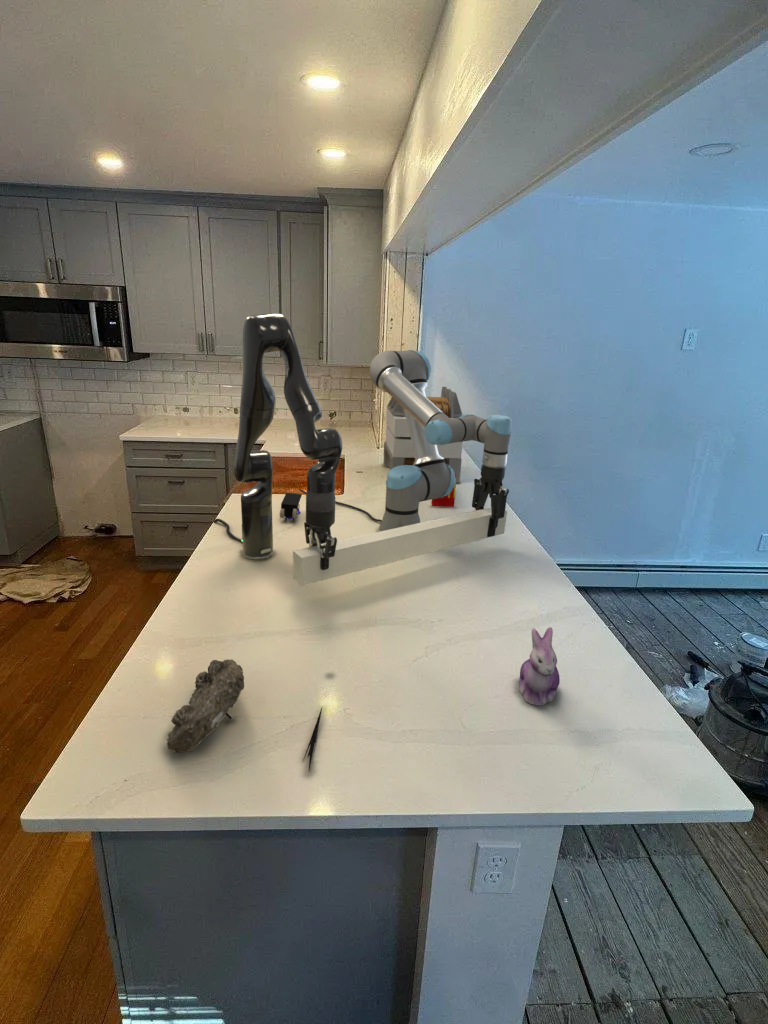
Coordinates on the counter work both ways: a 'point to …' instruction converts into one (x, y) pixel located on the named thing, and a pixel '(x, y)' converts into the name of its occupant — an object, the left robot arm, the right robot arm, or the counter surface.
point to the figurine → (540, 671)
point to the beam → (393, 545)
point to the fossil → (206, 705)
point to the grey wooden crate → (399, 438)
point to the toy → (446, 499)
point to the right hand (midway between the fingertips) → (484, 532)
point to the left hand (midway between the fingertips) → (319, 564)
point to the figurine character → (290, 506)
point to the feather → (313, 740)
